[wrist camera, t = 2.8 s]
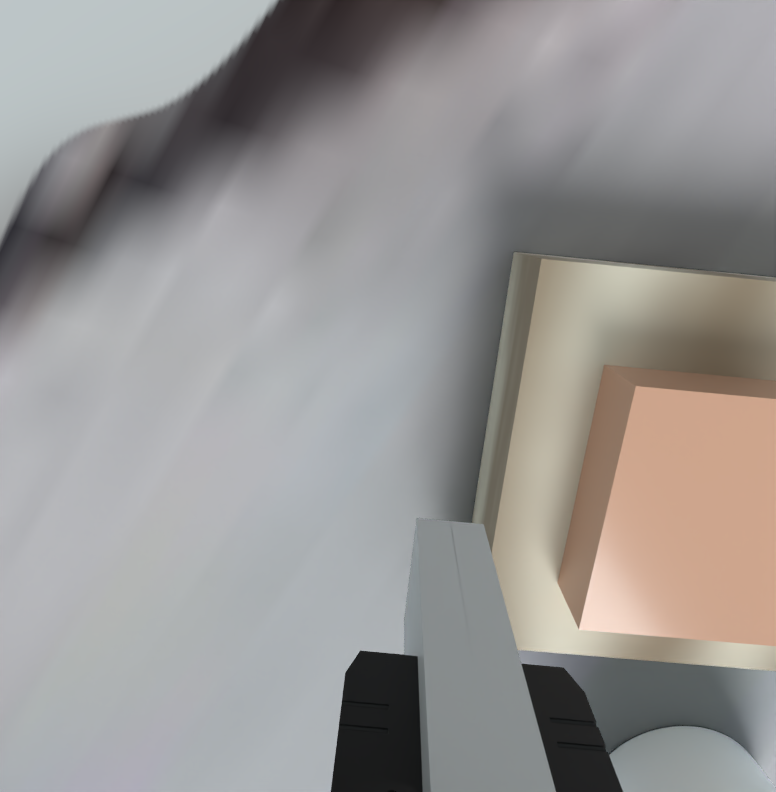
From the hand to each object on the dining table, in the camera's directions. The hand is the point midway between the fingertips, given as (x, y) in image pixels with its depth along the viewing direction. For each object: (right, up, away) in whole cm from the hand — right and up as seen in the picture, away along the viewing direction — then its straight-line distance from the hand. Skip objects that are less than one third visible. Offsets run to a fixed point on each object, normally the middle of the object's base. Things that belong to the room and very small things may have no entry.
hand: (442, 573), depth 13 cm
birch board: (+9, +2, +10) cm, 13 cm away
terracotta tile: (+9, +1, +6) cm, 11 cm away
